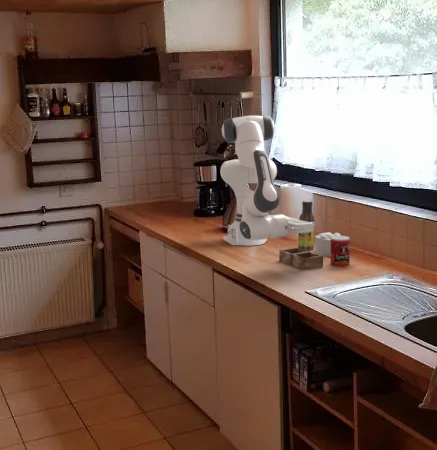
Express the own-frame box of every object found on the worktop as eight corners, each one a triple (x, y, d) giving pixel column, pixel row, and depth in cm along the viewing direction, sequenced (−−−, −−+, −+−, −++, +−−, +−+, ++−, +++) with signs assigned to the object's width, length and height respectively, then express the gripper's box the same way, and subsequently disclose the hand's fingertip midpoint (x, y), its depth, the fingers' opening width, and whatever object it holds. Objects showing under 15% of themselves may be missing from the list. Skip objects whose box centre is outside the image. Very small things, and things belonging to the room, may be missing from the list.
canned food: (334, 266, 287) (334, 240, 285) (327, 262, 295) (327, 236, 292) (352, 265, 288) (352, 238, 286) (345, 261, 296) (345, 235, 294)
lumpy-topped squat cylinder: (330, 249, 318) (330, 230, 317) (350, 254, 307) (350, 234, 306) (311, 252, 313) (312, 232, 312) (331, 257, 302) (331, 237, 301)
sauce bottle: (295, 250, 286) (296, 201, 282) (301, 247, 292) (301, 199, 288) (311, 252, 283) (311, 202, 280) (316, 249, 289) (316, 200, 285)
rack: (279, 260, 299) (279, 250, 298) (297, 257, 303) (297, 247, 302) (304, 269, 283) (304, 258, 282) (322, 266, 287) (323, 255, 287)
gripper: (294, 221, 270) (324, 218, 276) (265, 214, 287) (294, 210, 294) (294, 238, 271) (324, 234, 277) (265, 229, 289) (294, 226, 295)
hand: (308, 222), depth 286 cm, fingers closed on sauce bottle, 6 cm apart
